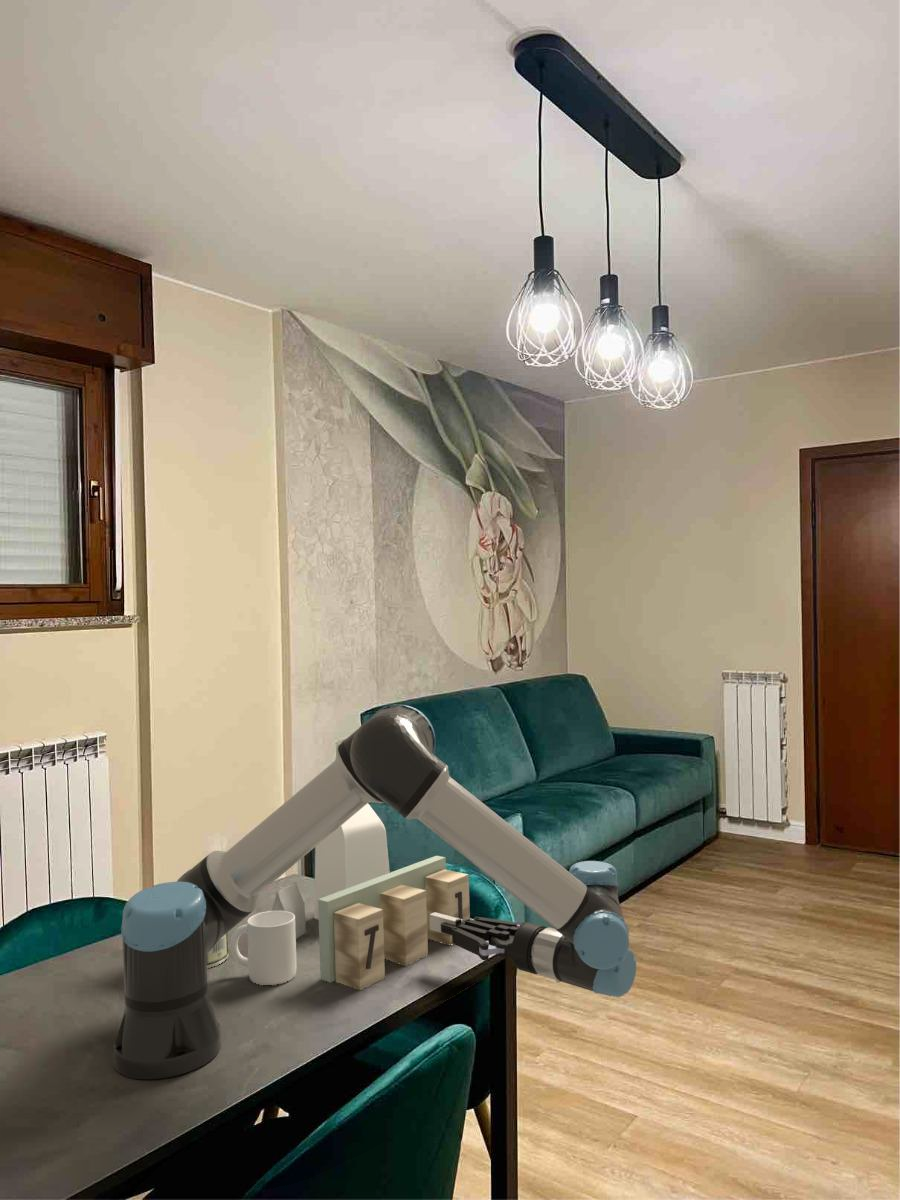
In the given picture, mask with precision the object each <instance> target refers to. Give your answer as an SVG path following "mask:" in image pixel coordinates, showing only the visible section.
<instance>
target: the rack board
mask: <svg viewBox="0 0 900 1200" xmlns="http://www.w3.org/2000/svg"><path fill="white" fill-rule="evenodd" d="M446 858H447V857H445V856H441V855H435V856H432V857H429V858H426V859H424V860H421V861H417V862H415V863H412V864H410V865H407V866H405V867H402V868H399V869H396V870H394V871H390V873H388V874H385V875H382V876H380V877H377V878H374V879H372V880H369V881H366V882H363V883H361V884H358V885H355V886H353V887H350V888H347V889H344V890H342V891H339V892H336V893H334V894H331V895H328V896H325V897H323V898H320V899H318V912H319V920H318V934H319V935H318V940H319V942H318V943H319V968H320V971H319V972H320V975H319V976H320V980H321V981H323V980H324V982H326V981H327V983H329V984H331V983H332V982H336V970H335V937H334V912H337V911H339V910H342V909H344V908H347V907H349V906H352V905H355V904H357V903H360V904H364V905H368V906H372V907H376V908H379V909H380V893H382V892H385V891H387V890H390V889H392V888H395V887H398V886H400V885H405V886H409V887H413V888H418V889H422V890H425V877H427V876H429V875H432V874H434V873H437V872H439V871H442V870H444V869H446V870H447V860H446Z"/></svg>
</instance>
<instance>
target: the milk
mask: <svg viewBox="0 0 900 1200" xmlns="http://www.w3.org/2000/svg"><path fill="white" fill-rule="evenodd" d="M314 849H315V852H314V853H315V854H314V855H315V856H314V861H315V862H314V907H313V911H314V915H313V918H314V919H315V920H318V921H319V912H318V899H320V898H323V897H325V896H328V895H331V894H334V893H336V892H339V891H342V890H344V889H347V888H350V887H353V886H355V885H358V884H361V883H363V882H366V881H369V880H372V879H374V878H377V877H380V876H382V875H385V874H388V873H391V871H390V861H389V860H390V859H389V849H388V837H387V830H386V827H385V825H384V823H383V821H382V820H381V818H380V817H379V816H378V814H377V813H376V811H375V810H374V809H373V808H372V806H371V805H370V804H369V803H367V804H366V805H365V806H364V807H363V808H361V809H360V810H359V811H358V812H357V813H355V814H354V815H353V816H352V817H351V818H349V819H348V820H347V821H346V822H345V823H343V824H342V825H341V826H340V827H339V828H337V829H336V830H335V831H334V832H333V833H331V834H330V835H329V836H328V837H327V838H325V839H324V840H323V841H322V842H321V843H319V844H318V845H317V846H316V847H315V848H314Z"/></svg>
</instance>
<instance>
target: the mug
mask: <svg viewBox="0 0 900 1200" xmlns="http://www.w3.org/2000/svg"><path fill="white" fill-rule="evenodd" d="M243 934H247V954H248V955H247V956H248V957H246V956H243V955H242V954H241V952H240V950H239V939H240V937H241V936H242V935H243ZM296 940H297V939H296V933H295V915H294V914H293V913H291V912H287V911H271V910H268V911H263V912H258V913H255V914H254V915H252V916H250V917H249V918H248V919H247V920H246V924H243V925H239V927H237V928H236V929H235V930H234V931H233V933H232V935H231V938H230V942H229V943H230V944H229V945H230V946H229V947H230V952H231V955H232V957H233V959H234V960H235V961H236V962H237V963H238V964H239V965H241V966H244V967H246V968H248V976H249V980H250V981H251V982H252V983H253V984H255V983H256V984H255V985H258V984H259V985H258V986H263V985H272V986H278V985H277V984H279V985H282V984H284V983H287V981H288V982H289V981H291V980H292V979H293V978H294V977H295V976H296V974H297V947H296V946H297V941H296Z"/></svg>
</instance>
